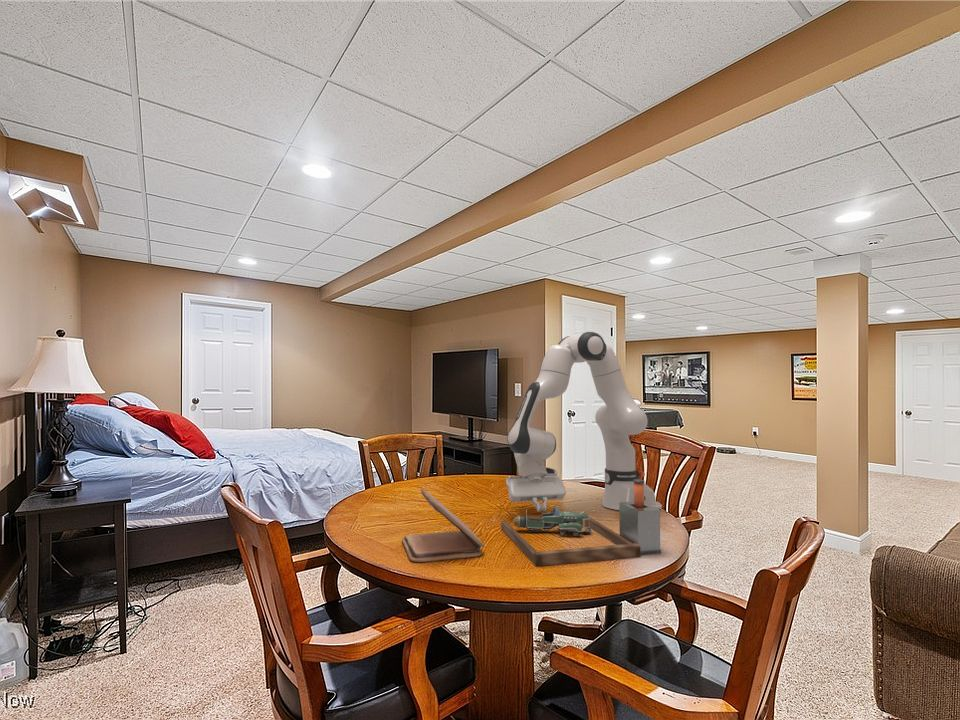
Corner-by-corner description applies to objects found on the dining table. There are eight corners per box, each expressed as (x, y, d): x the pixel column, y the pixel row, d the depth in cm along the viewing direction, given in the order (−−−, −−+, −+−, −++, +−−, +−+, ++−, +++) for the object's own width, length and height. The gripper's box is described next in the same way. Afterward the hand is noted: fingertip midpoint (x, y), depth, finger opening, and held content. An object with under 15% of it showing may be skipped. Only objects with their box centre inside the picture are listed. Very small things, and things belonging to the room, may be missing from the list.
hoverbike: (593, 538, 148) (593, 511, 149) (512, 536, 150) (512, 509, 150) (588, 529, 158) (588, 503, 158) (512, 527, 160) (512, 501, 160)
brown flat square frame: (586, 522, 164) (586, 513, 165) (640, 556, 133) (640, 545, 133) (501, 528, 157) (501, 519, 157) (536, 566, 126) (536, 554, 126)
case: (486, 557, 132) (487, 498, 133) (410, 565, 126) (411, 503, 127) (467, 535, 152) (468, 483, 153) (400, 540, 146) (401, 487, 147)
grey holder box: (640, 541, 146) (640, 500, 146) (660, 552, 136) (660, 509, 137) (619, 542, 144) (618, 502, 145) (638, 554, 134) (637, 511, 135)
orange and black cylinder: (640, 504, 143) (640, 479, 143) (647, 507, 139) (646, 481, 140) (631, 505, 142) (630, 479, 142) (637, 508, 139) (637, 481, 139)
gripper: (506, 471, 169) (515, 507, 159) (560, 469, 174) (572, 503, 164) (502, 482, 173) (510, 517, 163) (555, 479, 178) (566, 513, 168)
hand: (542, 510), depth 163 cm, fingers closed
